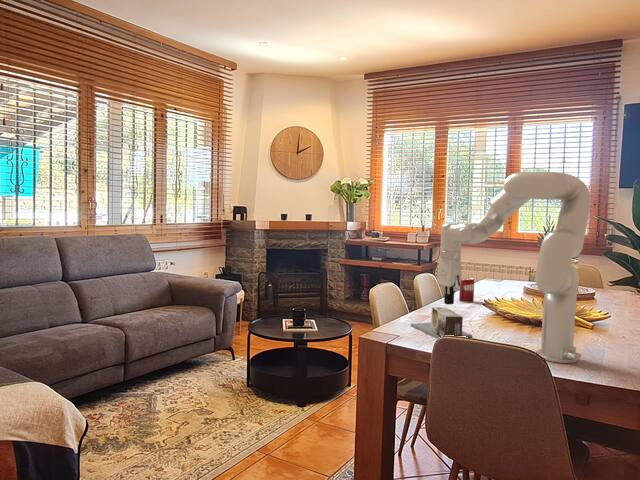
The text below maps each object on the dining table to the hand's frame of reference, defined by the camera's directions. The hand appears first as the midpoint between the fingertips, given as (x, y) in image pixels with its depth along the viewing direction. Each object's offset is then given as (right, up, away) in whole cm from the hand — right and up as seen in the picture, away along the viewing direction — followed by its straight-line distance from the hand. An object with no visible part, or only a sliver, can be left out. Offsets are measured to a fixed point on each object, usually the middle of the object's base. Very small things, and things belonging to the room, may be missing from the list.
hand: (448, 303), depth 190 cm
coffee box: (-3, -6, +5) cm, 8 cm away
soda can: (+27, -8, +69) cm, 74 cm away
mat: (-2, -12, +6) cm, 13 cm away
